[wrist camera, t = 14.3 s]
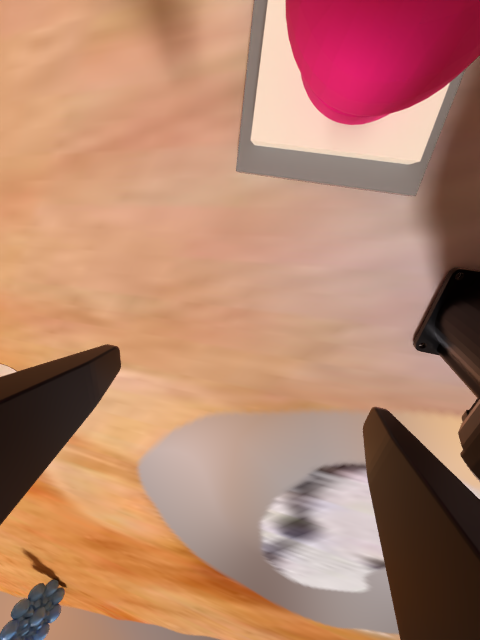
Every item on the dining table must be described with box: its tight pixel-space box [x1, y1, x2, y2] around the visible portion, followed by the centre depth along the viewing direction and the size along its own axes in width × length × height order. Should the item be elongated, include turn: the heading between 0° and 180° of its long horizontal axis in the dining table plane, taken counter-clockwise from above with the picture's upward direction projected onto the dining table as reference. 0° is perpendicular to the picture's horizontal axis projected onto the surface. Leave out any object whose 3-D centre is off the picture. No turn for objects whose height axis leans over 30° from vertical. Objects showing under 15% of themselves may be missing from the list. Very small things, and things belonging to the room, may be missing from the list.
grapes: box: [0, 580, 65, 640], centre depth 57 cm, size 12×7×12 cm, turn 19°
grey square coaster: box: [236, 0, 465, 196], centre depth 13 cm, size 12×11×3 cm
